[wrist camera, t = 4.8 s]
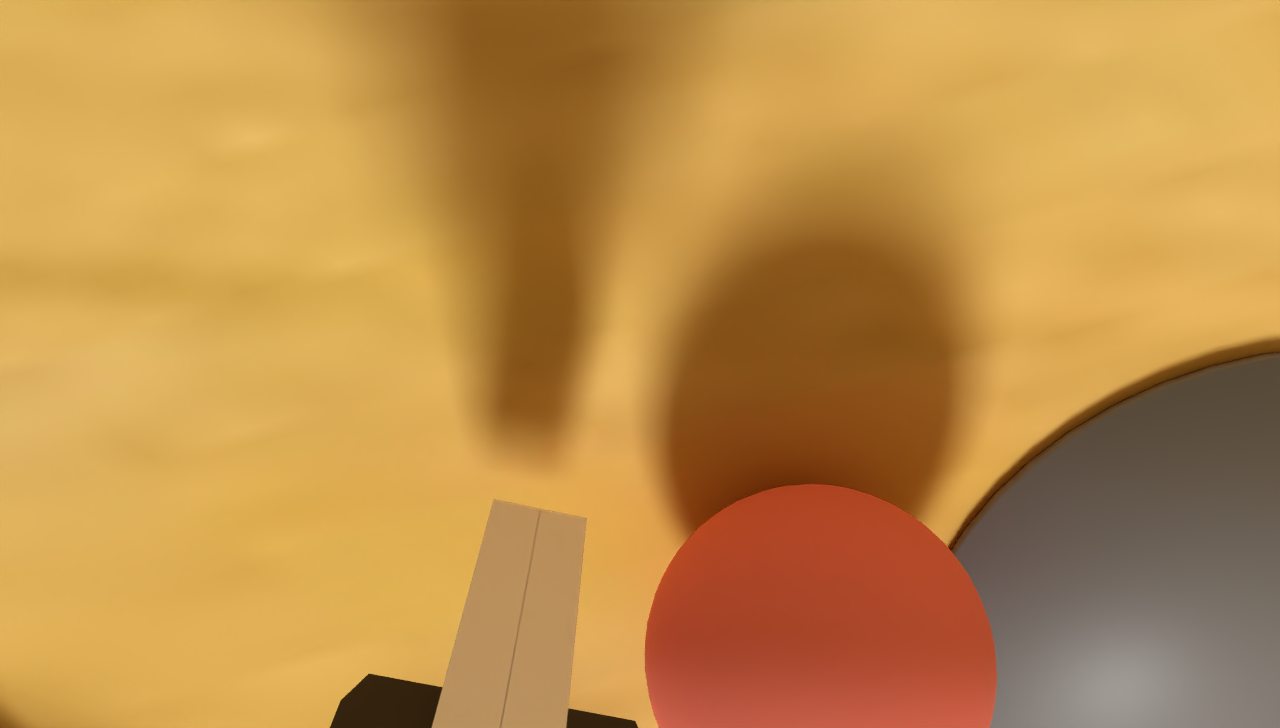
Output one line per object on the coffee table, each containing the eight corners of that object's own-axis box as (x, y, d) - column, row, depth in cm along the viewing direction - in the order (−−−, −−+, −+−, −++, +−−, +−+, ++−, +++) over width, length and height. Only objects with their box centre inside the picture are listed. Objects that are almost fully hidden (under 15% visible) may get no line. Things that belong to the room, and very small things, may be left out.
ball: (959, 995, 12) (1016, 743, 17) (962, 613, 11) (1023, 454, 15) (596, 865, 15) (732, 678, 19) (563, 544, 13) (718, 427, 18)
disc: (779, 719, 19) (781, 726, 19) (1273, 202, 15) (1281, 205, 15) (1215, 948, 22) (1220, 956, 22) (1732, 573, 18) (1744, 579, 18)
